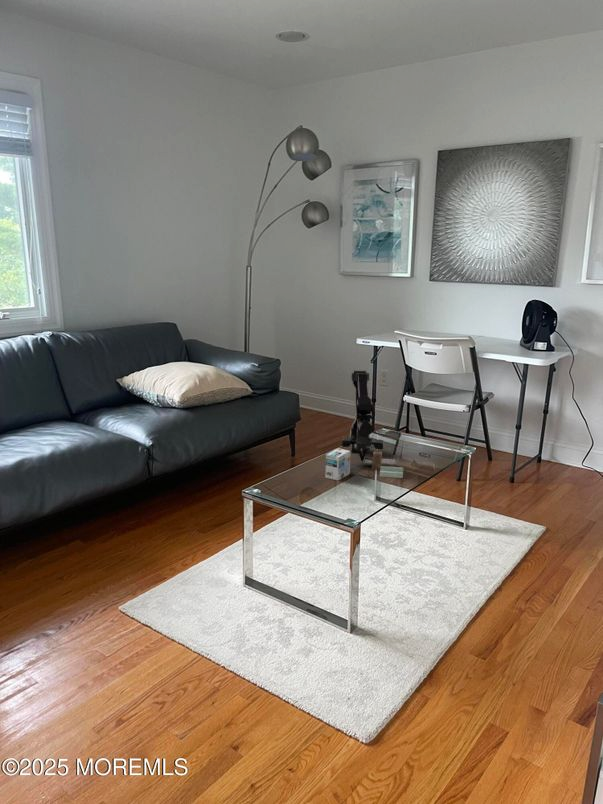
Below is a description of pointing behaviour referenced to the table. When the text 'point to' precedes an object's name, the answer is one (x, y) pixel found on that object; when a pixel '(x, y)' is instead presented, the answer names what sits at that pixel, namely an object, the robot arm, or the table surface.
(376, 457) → the bearing block
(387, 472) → the cradle
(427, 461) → the table surface
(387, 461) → the axle
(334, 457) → the light bulb box
